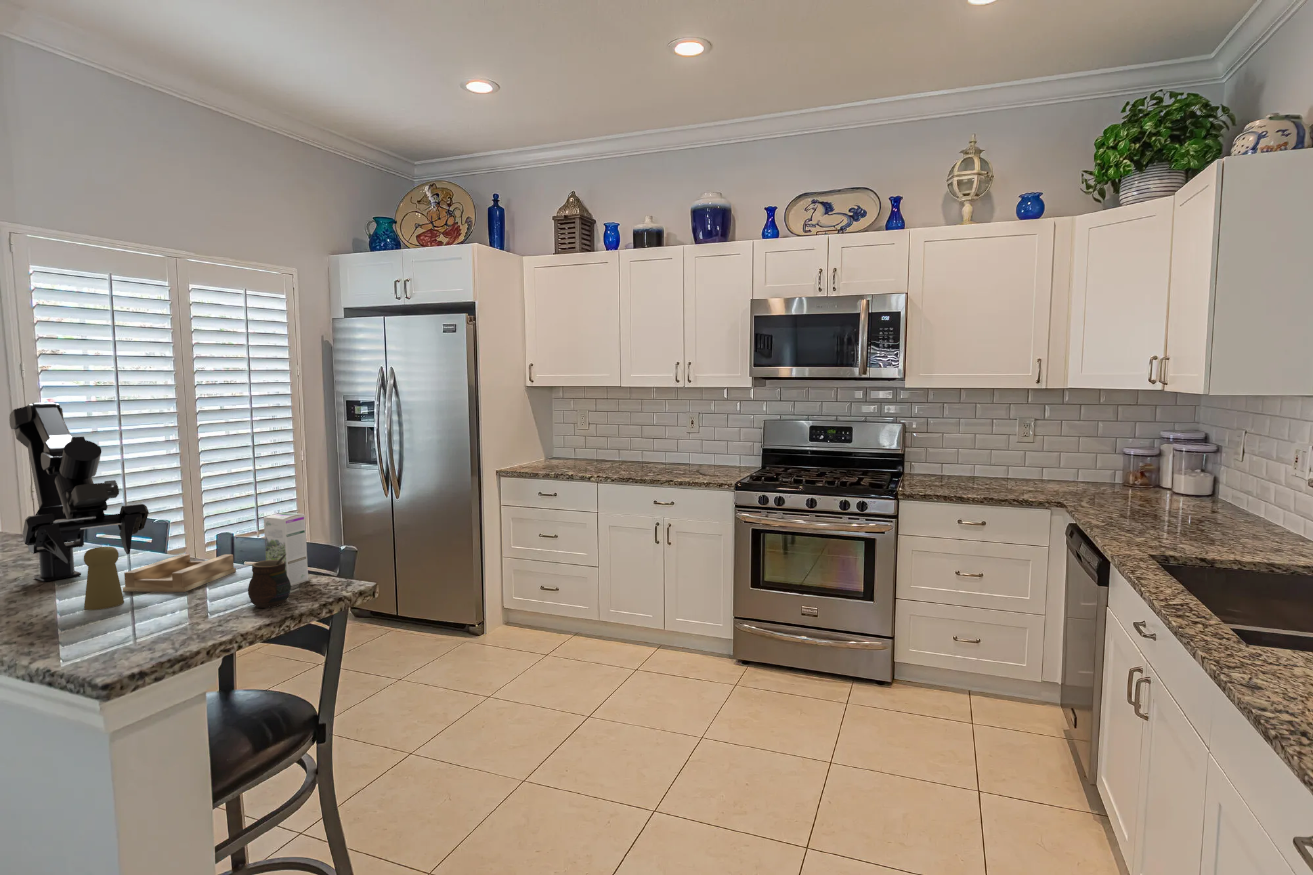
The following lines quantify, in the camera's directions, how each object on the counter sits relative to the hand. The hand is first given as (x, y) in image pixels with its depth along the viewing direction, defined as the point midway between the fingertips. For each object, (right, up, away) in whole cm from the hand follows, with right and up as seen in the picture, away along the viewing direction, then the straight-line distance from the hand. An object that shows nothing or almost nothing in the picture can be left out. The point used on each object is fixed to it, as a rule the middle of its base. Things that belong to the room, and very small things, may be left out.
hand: (99, 557), depth 135 cm
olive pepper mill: (+1, -9, 0) cm, 9 cm away
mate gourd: (+33, -9, -1) cm, 34 cm away
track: (+5, -8, +17) cm, 19 cm away
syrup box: (+28, -8, +14) cm, 33 cm away
